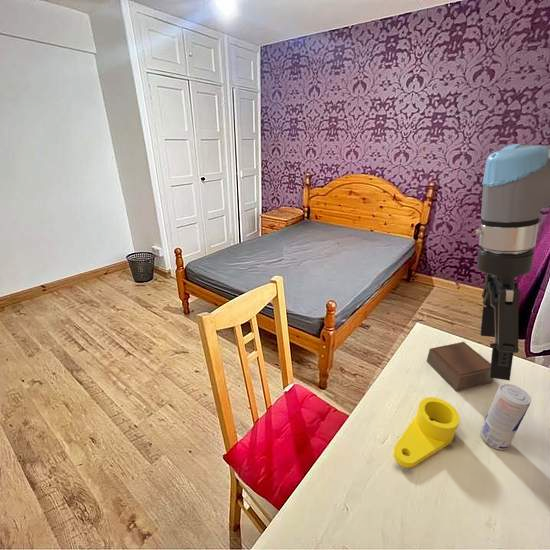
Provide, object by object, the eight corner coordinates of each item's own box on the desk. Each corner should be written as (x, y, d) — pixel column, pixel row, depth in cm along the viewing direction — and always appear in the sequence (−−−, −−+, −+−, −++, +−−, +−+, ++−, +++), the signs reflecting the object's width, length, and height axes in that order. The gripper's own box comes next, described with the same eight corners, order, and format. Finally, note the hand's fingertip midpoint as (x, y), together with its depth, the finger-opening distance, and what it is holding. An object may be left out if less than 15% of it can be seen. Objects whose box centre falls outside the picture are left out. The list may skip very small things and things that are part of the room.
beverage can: (512, 454, 67) (536, 407, 61) (482, 447, 69) (503, 400, 62) (504, 432, 72) (526, 386, 65) (477, 425, 74) (495, 380, 67)
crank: (426, 408, 78) (431, 391, 76) (460, 432, 72) (466, 415, 70) (382, 448, 69) (385, 430, 67) (415, 479, 63) (421, 461, 60)
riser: (459, 354, 96) (463, 341, 94) (492, 382, 85) (497, 368, 83) (426, 361, 93) (429, 348, 91) (455, 391, 83) (460, 377, 81)
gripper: (471, 230, 63) (465, 320, 70) (488, 274, 42) (477, 396, 50) (517, 228, 59) (505, 323, 67) (559, 276, 39) (536, 406, 46)
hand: (493, 354), depth 58 cm, fingers open, 13 cm apart
